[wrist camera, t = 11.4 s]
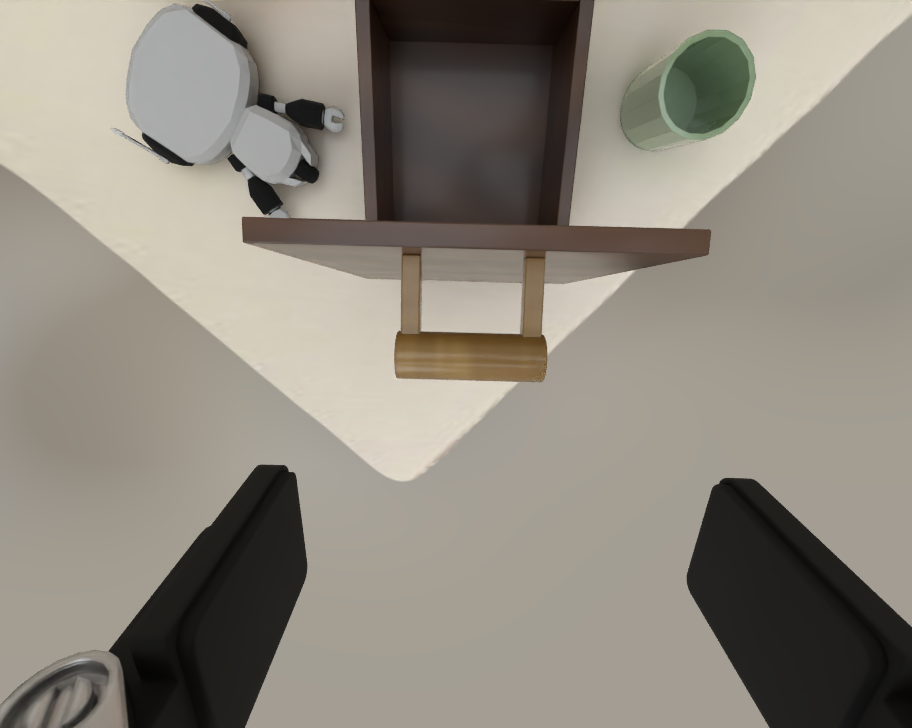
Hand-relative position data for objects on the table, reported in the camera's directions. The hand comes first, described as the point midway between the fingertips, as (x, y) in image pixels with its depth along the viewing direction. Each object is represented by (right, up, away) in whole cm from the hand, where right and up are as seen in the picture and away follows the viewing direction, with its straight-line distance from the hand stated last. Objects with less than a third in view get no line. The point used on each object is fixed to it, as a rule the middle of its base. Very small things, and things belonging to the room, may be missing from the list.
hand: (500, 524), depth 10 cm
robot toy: (-19, +24, +27) cm, 41 cm away
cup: (+16, +25, +26) cm, 40 cm away
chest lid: (0, +9, +13) cm, 16 cm away
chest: (0, +22, +28) cm, 35 cm away
